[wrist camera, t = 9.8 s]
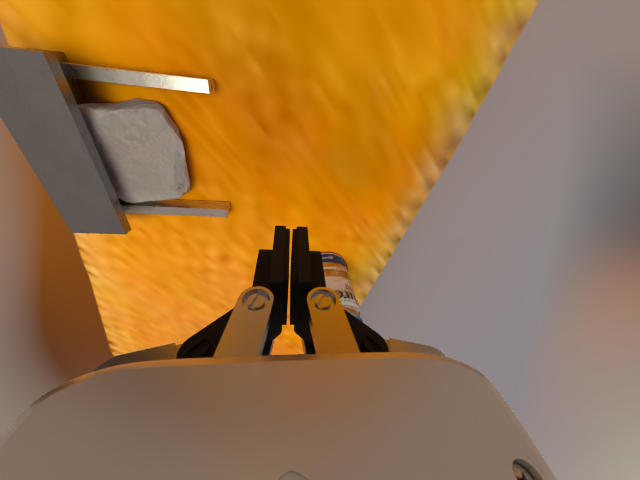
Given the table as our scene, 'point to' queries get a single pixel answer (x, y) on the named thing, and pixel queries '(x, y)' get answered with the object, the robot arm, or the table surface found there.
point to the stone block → (138, 149)
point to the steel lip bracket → (79, 137)
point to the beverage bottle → (340, 282)
